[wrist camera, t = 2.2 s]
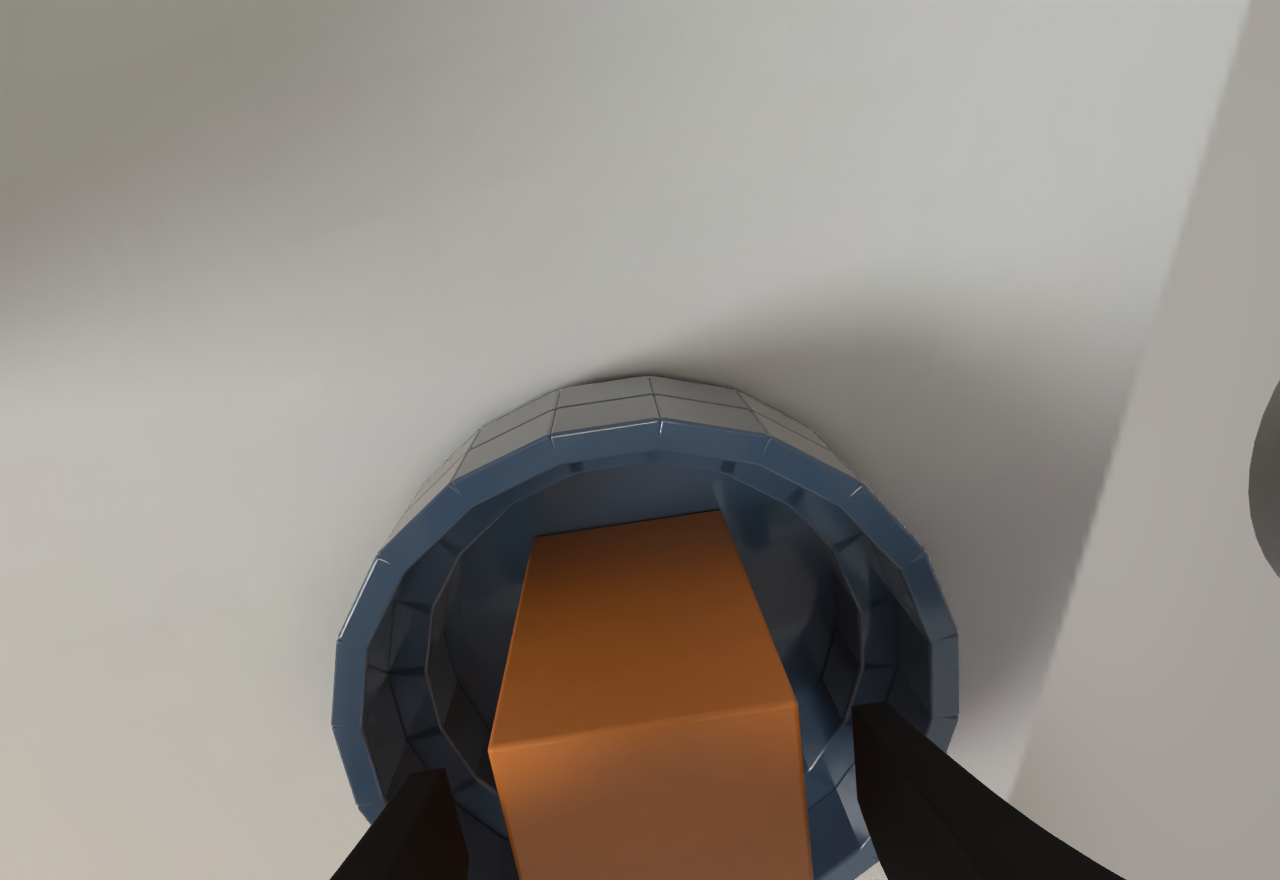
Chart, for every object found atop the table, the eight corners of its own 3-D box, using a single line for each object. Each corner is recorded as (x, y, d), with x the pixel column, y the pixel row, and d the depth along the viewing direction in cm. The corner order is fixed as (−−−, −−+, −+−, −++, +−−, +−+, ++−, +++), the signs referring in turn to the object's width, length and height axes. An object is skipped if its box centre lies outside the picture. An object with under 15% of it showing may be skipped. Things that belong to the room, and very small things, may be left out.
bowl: (874, 336, 16) (957, 373, 12) (893, 776, 20) (962, 910, 16) (332, 416, 16) (249, 478, 12) (450, 843, 20) (415, 992, 16)
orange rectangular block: (720, 508, 17) (799, 702, 10) (744, 707, 18) (824, 987, 12) (532, 536, 17) (484, 749, 10) (571, 733, 18) (554, 1028, 12)
